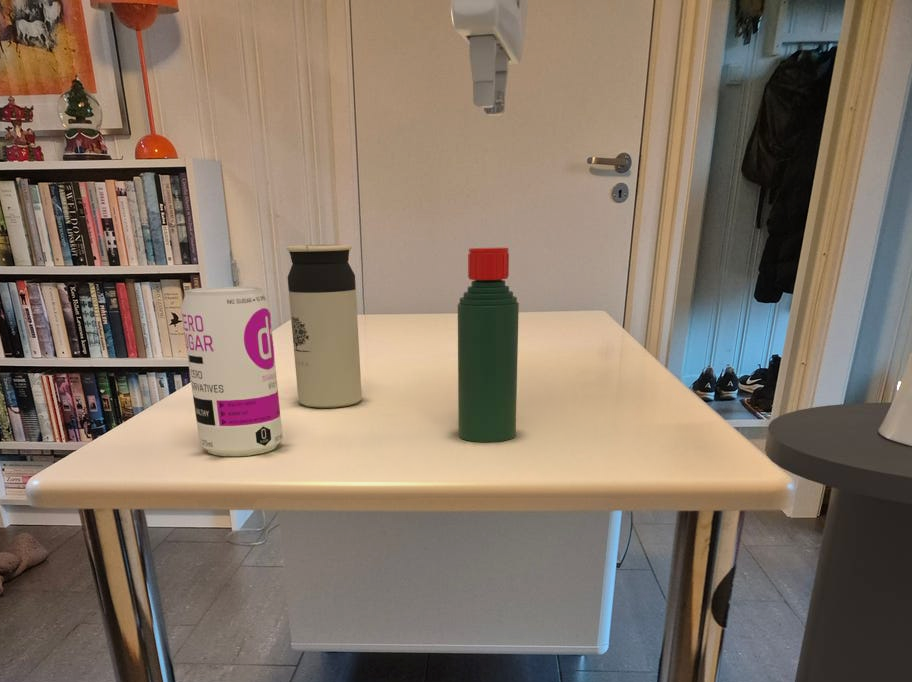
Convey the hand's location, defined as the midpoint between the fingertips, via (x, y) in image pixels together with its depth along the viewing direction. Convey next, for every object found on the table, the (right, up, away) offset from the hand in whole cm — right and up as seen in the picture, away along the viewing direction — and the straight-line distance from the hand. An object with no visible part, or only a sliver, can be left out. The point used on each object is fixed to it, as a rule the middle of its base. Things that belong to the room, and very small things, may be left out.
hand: (489, 111), depth 77 cm
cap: (0, -12, +6) cm, 14 cm away
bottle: (+1, -26, +13) cm, 29 cm away
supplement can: (-25, -28, +10) cm, 39 cm away
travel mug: (-18, -18, +31) cm, 40 cm away
